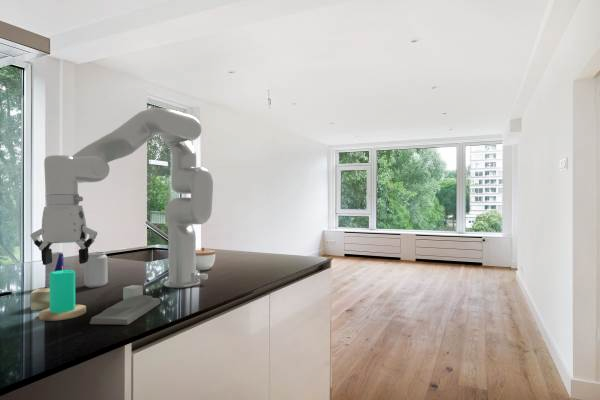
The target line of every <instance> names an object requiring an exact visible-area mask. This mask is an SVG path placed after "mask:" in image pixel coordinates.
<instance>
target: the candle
mask: <svg viewBox="0 0 600 400" xmlns="http://www.w3.org/2000/svg"><path fill="white" fill-rule="evenodd" d="M63 267H64V265H63V266H62V270H60V271H55V272H52V273H49V274H50V312H51V313H63V312H69V311H72V310H74V309H75V304H76V270H72V269H64V270H63Z"/></svg>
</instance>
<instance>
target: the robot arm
mask: <svg viewBox="0 0 600 400" xmlns="http://www.w3.org/2000/svg"><path fill="white" fill-rule="evenodd" d="M201 133H202V125H201V123H200V121H199V120H198V119H197V118H196V117H194V116H193V115H190V114H187V113H183V112H181V111H176V110H173V109H169V108H165V107H157V108H155V107H154V108H151V109H144V110H142V111H139V112H138V113H137V114H135V115H133V116H132V117H131V118H129V119H128V120H127V121H126V122H125V121H124V123H123V124H122V125H120V126H119V127H117V128H116V129H114V130H113V131H111V132H109V133H107V134H105V135H104V136H101V137H100V138H99V139H97V140H95V141H93V142H91V143H90V144H87V145H86V146H84V147H83V148H81V149H80V150H79V151H77V152H76V153H74V154H73V155H72V156H71V155H65V154H64V155H58V154H56V155H53V154H52V155H49V156H46V157H45V158H44V162H43V163H44V164H43V166H44V184H45V185H44V187H45V201H46V202H45V203H46V204H45V205H46V206H44V207H43V212H42V217H41V218H42V219H41V228H40V229H37V230H36V231H34V232H32V233H31V234H30V236H29V237H30V238H31V239H32V241H33V244H34V245H35V246H36V247H37V248H38V250H39V251H40V252H41V261H42V266H46V265H47V264H50V263H52V253H53V252H52V251H53V250H52V248H51V246H52V245H53V244H67V243H76V244H77V246H78V247H79V249H78V263H79V264H81V265H82V264H83V265H84V263H86V262H87V261H88V258H89V255H88V253H89V248H90V246H91V245H92V244H93V243H94V242H95V239H96V237H97V235H98V231H96V230H94V229H92V228H90V227H87V221H86V215H85V212H84V208H83V205H79V204H80V202H83V201H84V197H83V196H80V194H79V186H78V184H80V183H81V184H83V183H98V182H102V181H103V180H105V179H106V178H107V177H108V175H109V173H110V170H111V169H110V165H109V163H110V162H112V161H115V160H118V159H122V158H125V157H128V156H129V155H132V154H133V153H135V152H136V151H137V150H138V149H140V148H141V147H142V146H144V144H146V143H147V142H148V141H149V140H150V139H152V138H154V137H155V136H158V135H159V136H160V138H161V139H162V140H163V141H164V142H165V143H166V145H167V146H168V148H169V149H170V152H171V155H172V157H171V158H172V160H171V161H172V164H171V178H170V179H171V180H170V181H171V182H170V184H171V189H172V190H173V192H175V193H176V194H181V195H182V194H183V195H190V197H176V198H173V199H171V200H169V201H168V203H167V204H166V206H165V209H164V211H165V213H164V215H165V220H166V223H167V232H168V233H167V235H168V237H167V238H168V240H167V241H168V279H167V280H165V281H164V282H163V283H164V285H163V286H164V287H166V288H173V289H174V288H175V289H177V288H180V289H181V288H189V287H195V286H198V285H200V284H201V280H208V278H209V277H208V276H209V275H208V273H199V270H197V269H196V249H197V247H196V246H197V244H196V243H197V242H196V239H197V236H196V232H195V231H196V230H195V228H194V226H193V225H203V224H206V223H207V222H208V221H209V220H210V218H211V215H212V210H213V195H214V194H213V192H214V191H213V190H214V180H213V177H212V173H211V172H210V171H209V170H208V169H207V168H205V167H200V166H197V152H196V150H195V147H194V146H193V144H192V143H191V141H195V140H197V139H198V138H199V137H200V136H201ZM40 236H41V238H40ZM87 237H88V238H87ZM86 239H87V240H86Z"/></svg>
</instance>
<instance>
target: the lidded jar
mask: <svg viewBox="0 0 600 400" xmlns="http://www.w3.org/2000/svg"><path fill="white" fill-rule="evenodd" d="M215 261H216V250H213V249H205V247H202V248H201V249H197V250H196V270H198V271H206V270H210V269H211V268H212V267H213V265H214V264H215Z"/></svg>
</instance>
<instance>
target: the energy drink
mask: <svg viewBox="0 0 600 400" xmlns="http://www.w3.org/2000/svg"><path fill="white" fill-rule="evenodd" d="M62 266H63V270H65V269H64V267H65V266H64V253H63V252H60V251H59V252H57V251H56V252H52V263H50V264H47V265H45V288H50V274H49V273H52V272H55V271H60V270H62Z"/></svg>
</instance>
